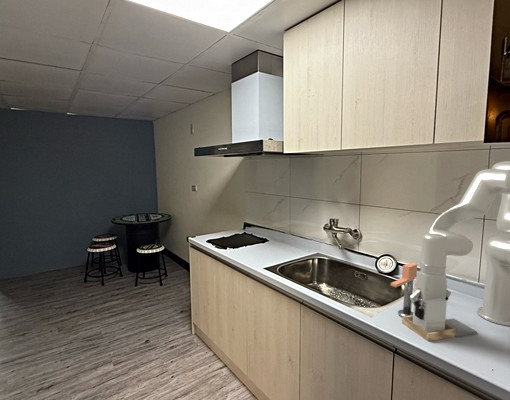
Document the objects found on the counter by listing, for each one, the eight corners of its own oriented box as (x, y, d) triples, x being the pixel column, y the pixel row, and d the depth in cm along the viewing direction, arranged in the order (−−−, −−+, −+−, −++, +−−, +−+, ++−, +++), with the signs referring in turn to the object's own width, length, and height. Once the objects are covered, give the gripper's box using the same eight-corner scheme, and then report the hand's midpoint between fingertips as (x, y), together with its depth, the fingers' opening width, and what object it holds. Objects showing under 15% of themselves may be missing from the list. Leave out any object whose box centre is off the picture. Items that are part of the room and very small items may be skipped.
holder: (427, 318, 110) (428, 312, 110) (455, 336, 99) (456, 329, 99) (402, 322, 107) (402, 316, 107) (428, 341, 96) (428, 334, 96)
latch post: (407, 310, 116) (409, 276, 115) (419, 318, 111) (421, 282, 109) (394, 312, 115) (396, 277, 113) (406, 320, 109) (408, 283, 108)
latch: (416, 279, 112) (417, 264, 111) (396, 287, 104) (397, 271, 103) (410, 277, 114) (411, 262, 113) (390, 285, 106) (391, 269, 105)
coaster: (453, 320, 109) (453, 318, 109) (477, 333, 101) (477, 331, 101) (434, 323, 107) (434, 321, 107) (456, 337, 98) (456, 335, 98)
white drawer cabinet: (430, 323, 107) (433, 290, 106) (444, 334, 100) (447, 300, 98) (411, 323, 107) (413, 291, 105) (424, 335, 100) (426, 300, 98)
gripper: (443, 263, 106) (439, 308, 108) (403, 267, 102) (400, 314, 104) (462, 270, 99) (458, 318, 101) (420, 275, 95) (417, 325, 97)
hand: (429, 316), depth 103 cm, fingers closed on white drawer cabinet, 8 cm apart
